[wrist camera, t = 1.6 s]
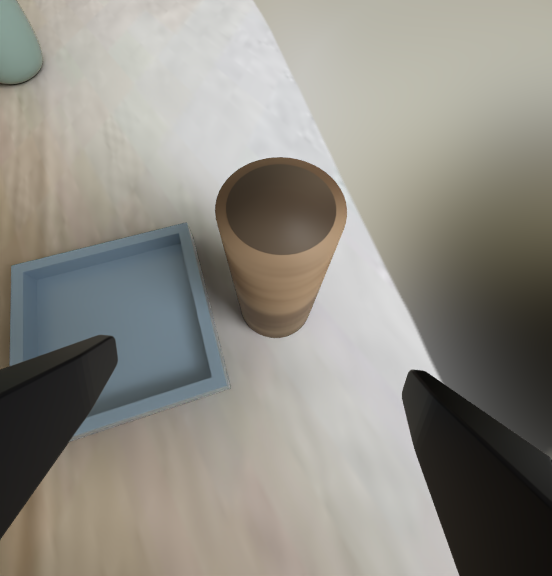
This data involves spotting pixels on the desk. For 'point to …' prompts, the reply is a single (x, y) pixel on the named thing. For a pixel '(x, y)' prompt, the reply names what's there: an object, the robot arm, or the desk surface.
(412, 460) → the desk surface
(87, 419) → the desk tray
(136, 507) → the desk surface
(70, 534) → the desk surface
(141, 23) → the desk surface
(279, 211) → the cup
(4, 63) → the cup
